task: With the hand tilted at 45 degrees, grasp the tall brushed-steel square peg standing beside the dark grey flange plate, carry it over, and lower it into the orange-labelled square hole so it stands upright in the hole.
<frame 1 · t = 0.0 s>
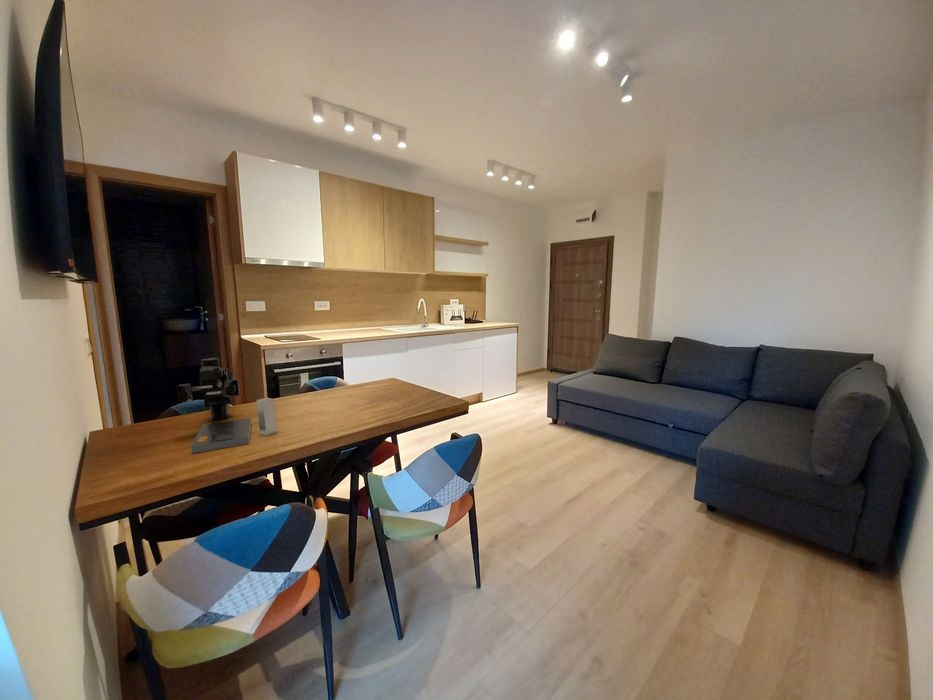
hand: (205, 395, 126), 16 cm above the table, tool horizontal, fingers open, 9 cm apart
steel peg: (268, 432, 135), on the table
flange plate: (224, 437, 131), on the table
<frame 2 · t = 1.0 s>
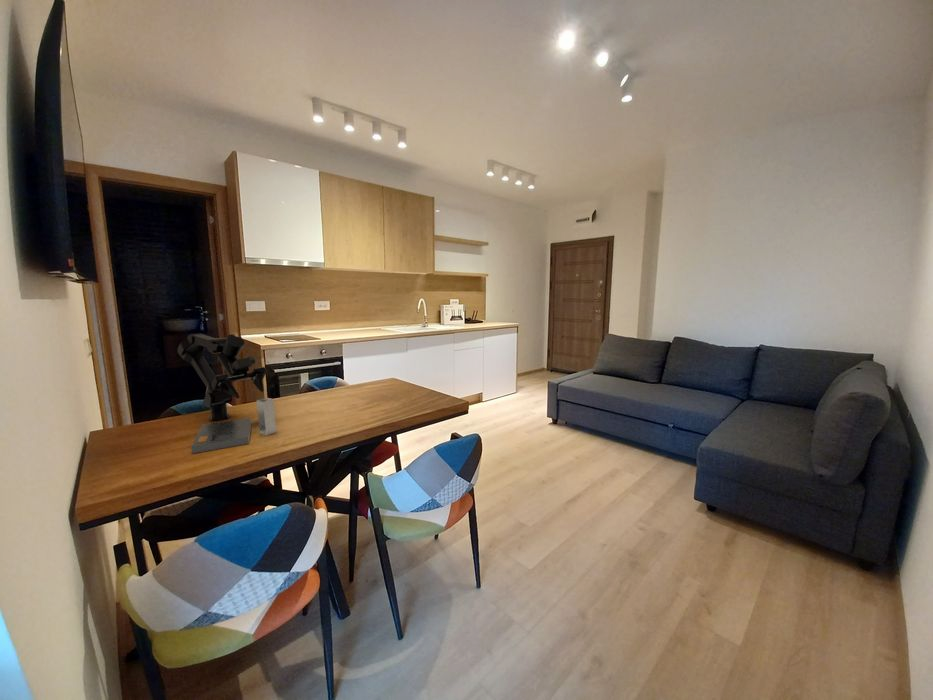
hand: (251, 394, 136), 14 cm above the table, tool tilted 45°, fingers open, 9 cm apart
nothing on the table moved.
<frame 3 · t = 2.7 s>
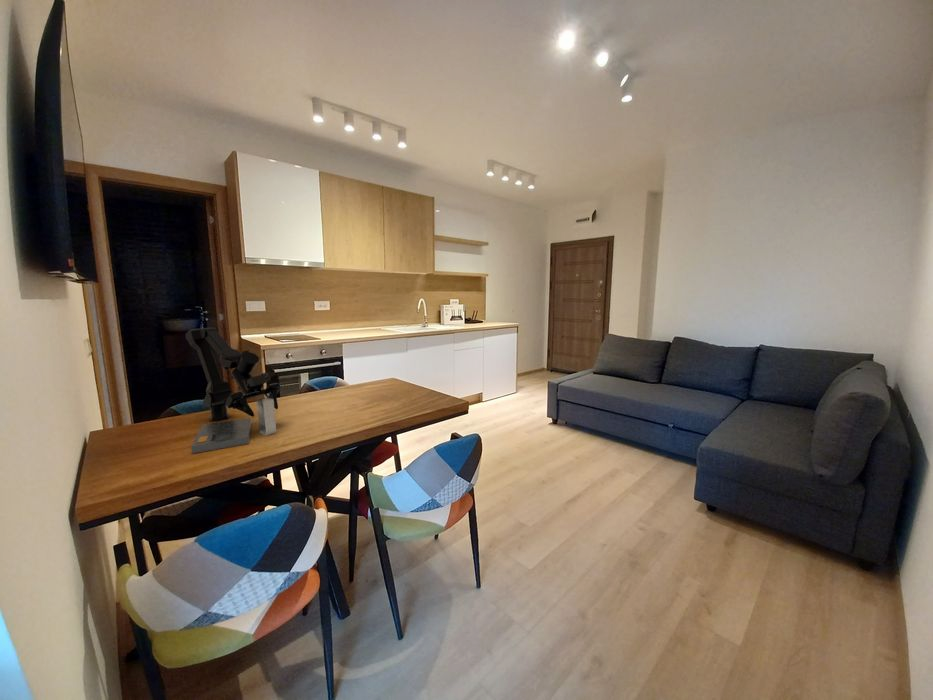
hand: (265, 412, 134), 8 cm above the table, tool tilted 45°, fingers open, 9 cm apart
nothing on the table moved.
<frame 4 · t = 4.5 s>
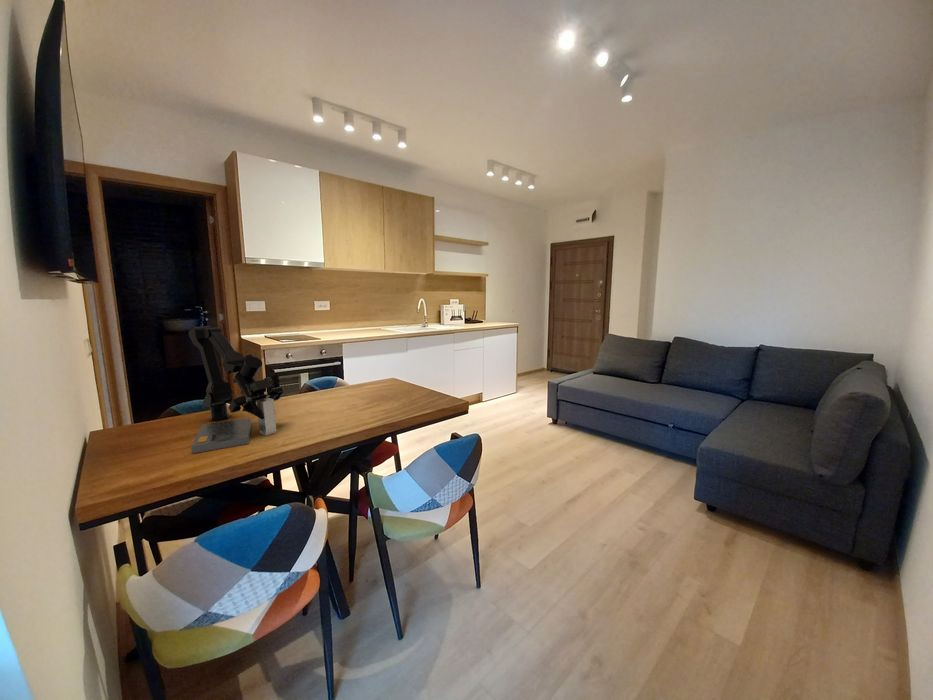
hand: (268, 416, 133), 7 cm above the table, tool tilted 45°, fingers closed on steel peg, 4 cm apart
steel peg: (268, 432, 135), on the table, touching gripper
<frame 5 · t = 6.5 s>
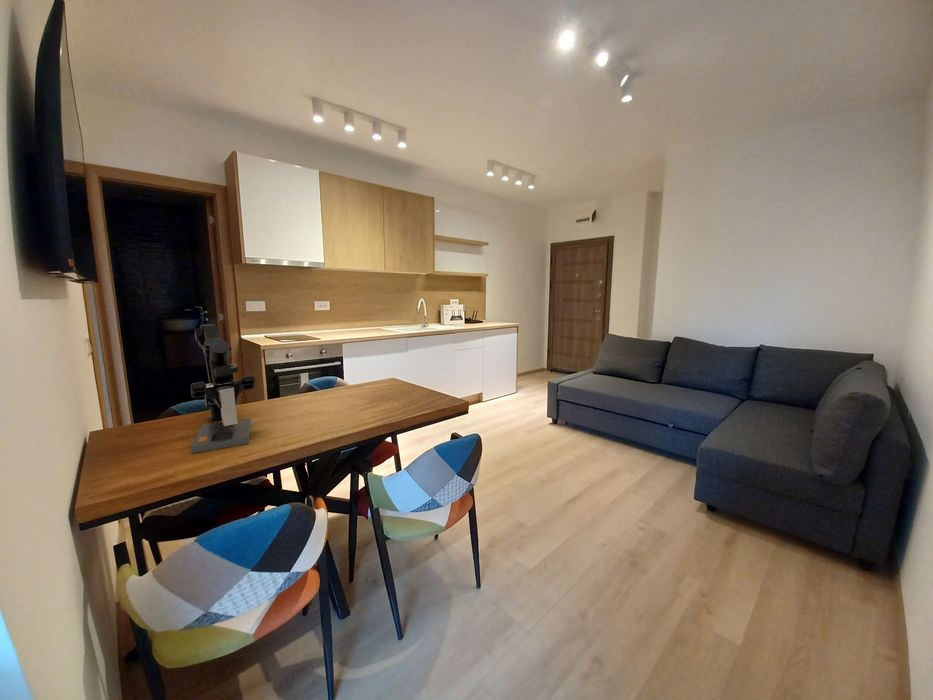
hand: (228, 406, 124), 13 cm above the table, tool tilted 45°, fingers closed on steel peg, 4 cm apart
steel peg: (230, 423, 126), point 7 cm above the table, touching gripper
when the fingers open (8 cm above the table, at t = 8.8 s): steel peg drops 1 cm, resting in flange plate.
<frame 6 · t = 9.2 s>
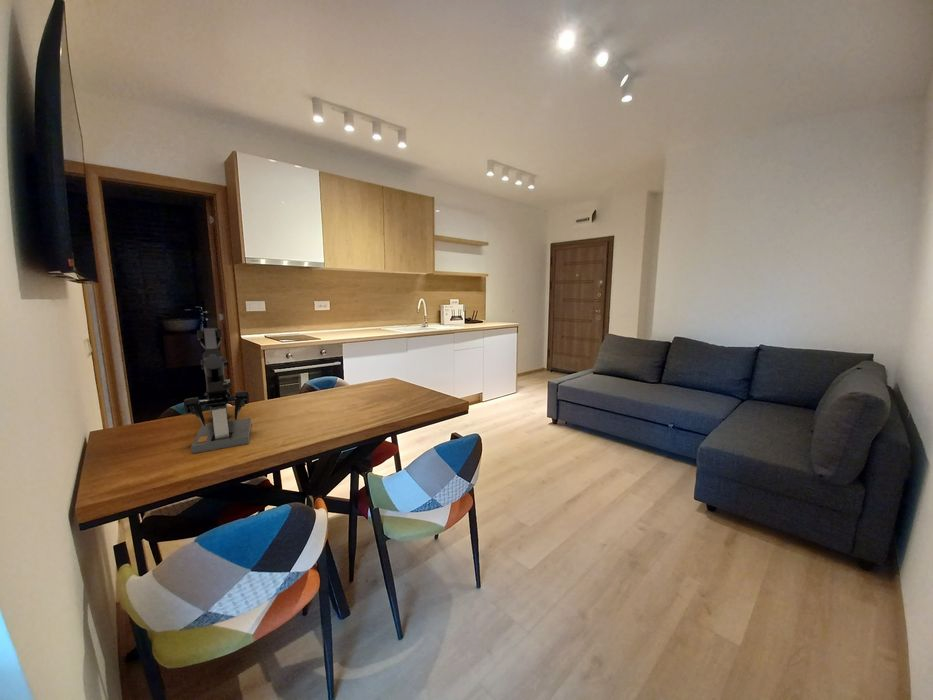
hand: (220, 422, 123), 8 cm above the table, tool tilted 45°, fingers open, 9 cm apart
steel peg: (222, 443, 126), resting in flange plate
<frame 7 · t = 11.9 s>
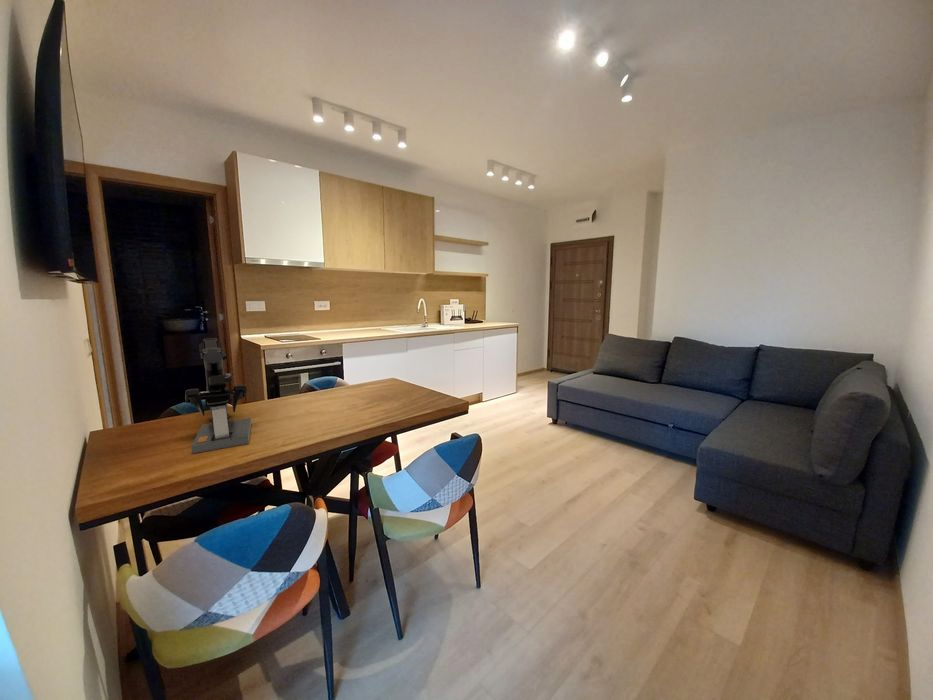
hand: (219, 413, 131), 8 cm above the table, tool tilted 40°, fingers open, 9 cm apart
nothing on the table moved.
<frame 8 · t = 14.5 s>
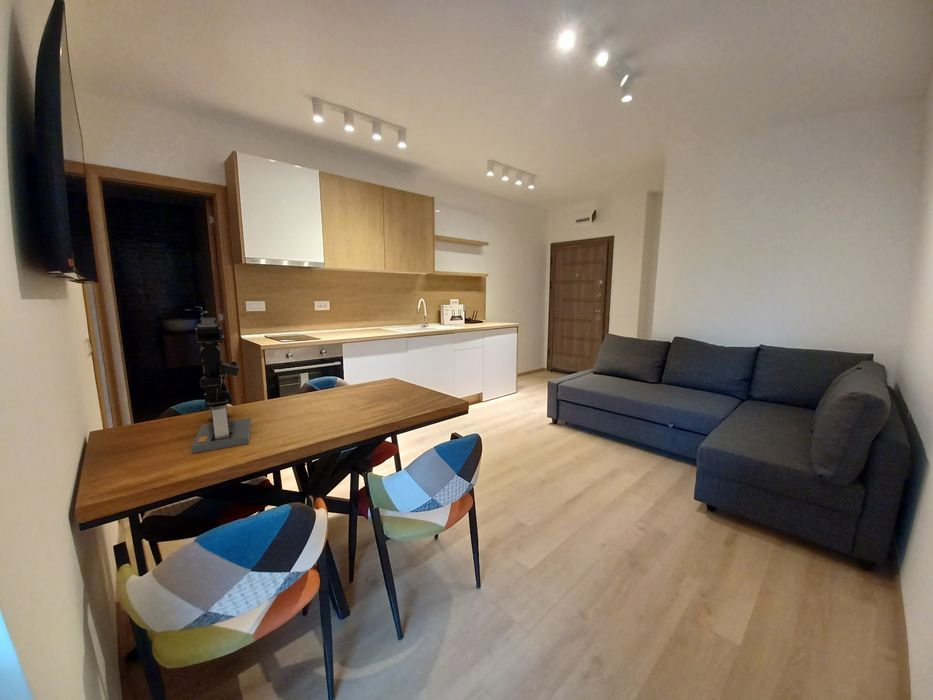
hand: (216, 398, 134), 13 cm above the table, tool pointing down, fingers open, 9 cm apart
nothing on the table moved.
at the end: steel peg 0.0 cm from the target spot on the flange plate, point 0.0 cm above the flange plate's base; steel peg tilted 0°; the gripper is holding nothing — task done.
